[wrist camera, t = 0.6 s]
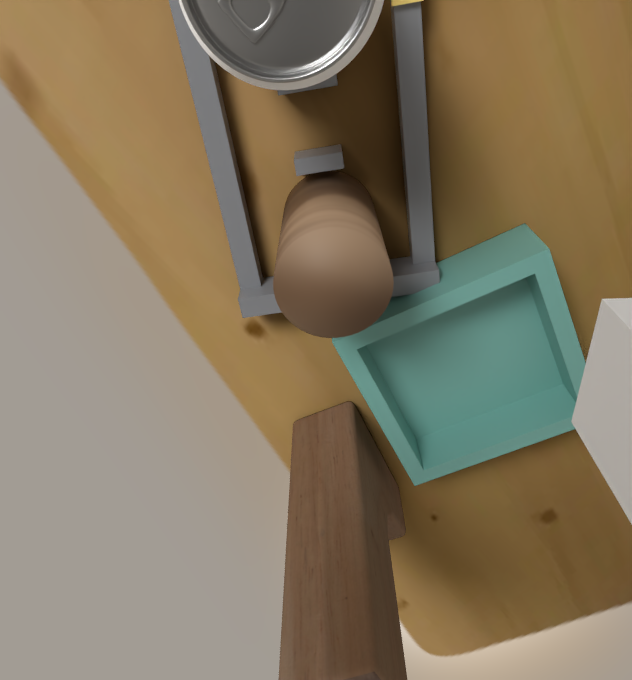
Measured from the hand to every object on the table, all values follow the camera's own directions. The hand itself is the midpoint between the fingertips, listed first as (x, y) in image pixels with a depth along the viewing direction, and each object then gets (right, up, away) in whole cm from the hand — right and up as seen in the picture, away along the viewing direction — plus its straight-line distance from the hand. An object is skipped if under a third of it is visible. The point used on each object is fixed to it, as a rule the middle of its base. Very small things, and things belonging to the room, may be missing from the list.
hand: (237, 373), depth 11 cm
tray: (+10, 0, +25) cm, 27 cm away
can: (0, +17, +15) cm, 23 cm away
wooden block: (+4, -7, +30) cm, 31 cm away
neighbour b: (+2, +7, +21) cm, 22 cm away
